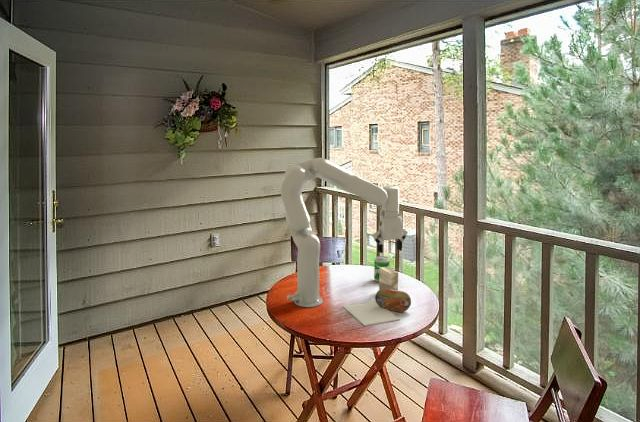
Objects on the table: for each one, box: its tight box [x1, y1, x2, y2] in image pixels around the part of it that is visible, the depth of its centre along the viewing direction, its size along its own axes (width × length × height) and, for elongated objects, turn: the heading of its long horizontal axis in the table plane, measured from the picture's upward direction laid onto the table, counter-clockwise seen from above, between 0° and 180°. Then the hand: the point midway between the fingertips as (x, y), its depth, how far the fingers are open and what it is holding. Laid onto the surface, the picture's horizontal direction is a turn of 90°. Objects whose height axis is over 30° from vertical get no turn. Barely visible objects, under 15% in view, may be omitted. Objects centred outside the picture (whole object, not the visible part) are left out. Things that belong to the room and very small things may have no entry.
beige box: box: [378, 266, 399, 291], centre depth 200 cm, size 4×10×12 cm, turn 21°
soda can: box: [373, 255, 390, 283], centre depth 220 cm, size 8×8×12 cm
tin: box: [374, 288, 412, 313], centre depth 183 cm, size 15×3×8 cm, turn 62°
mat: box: [343, 300, 401, 327], centre depth 180 cm, size 16×20×1 cm
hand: (390, 251), depth 198 cm, fingers open, 9 cm apart
